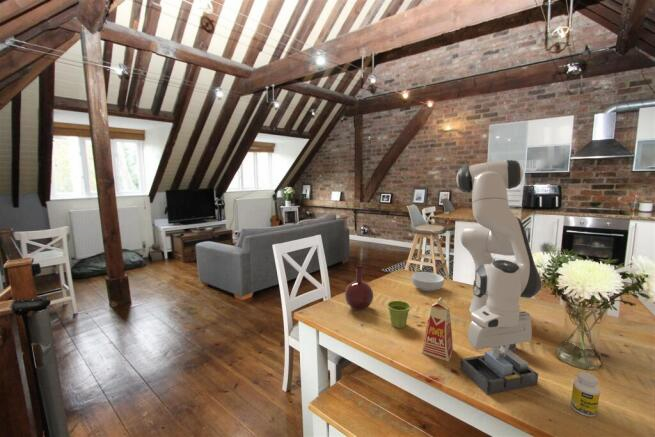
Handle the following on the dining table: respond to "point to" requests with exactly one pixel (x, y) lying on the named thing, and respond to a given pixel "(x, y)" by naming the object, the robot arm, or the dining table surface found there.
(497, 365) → the light blue block
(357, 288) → the round-bottom flask
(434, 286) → the cereal bowl
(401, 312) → the plant pot
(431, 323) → the milk carton
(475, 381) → the tray
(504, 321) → the robot arm
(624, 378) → the dining table surface
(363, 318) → the dining table surface
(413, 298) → the dining table surface
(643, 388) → the dining table surface
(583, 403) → the supplement bottle
